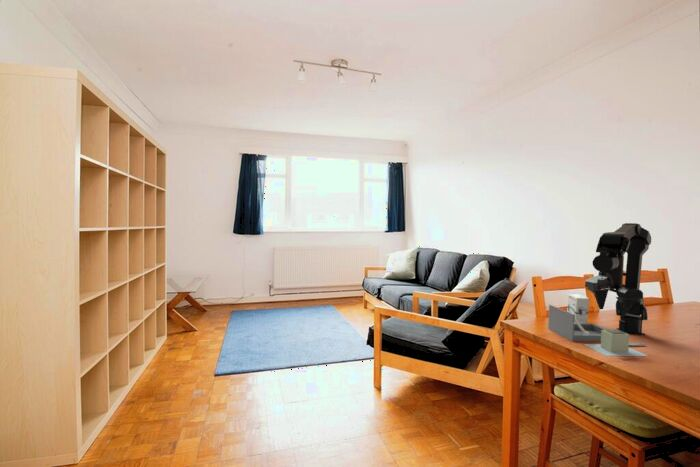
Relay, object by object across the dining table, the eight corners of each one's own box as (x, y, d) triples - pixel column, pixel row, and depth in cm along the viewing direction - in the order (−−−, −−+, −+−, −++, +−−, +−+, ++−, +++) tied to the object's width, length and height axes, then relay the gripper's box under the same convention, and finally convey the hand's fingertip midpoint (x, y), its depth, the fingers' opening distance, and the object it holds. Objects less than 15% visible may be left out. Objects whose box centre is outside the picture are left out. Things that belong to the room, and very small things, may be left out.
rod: (643, 346, 119) (643, 342, 119) (646, 347, 118) (646, 344, 117) (620, 344, 119) (621, 341, 118) (623, 345, 117) (623, 342, 117)
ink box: (566, 319, 150) (567, 293, 149) (578, 320, 149) (580, 294, 148) (575, 325, 141) (576, 297, 141) (588, 326, 140) (589, 298, 140)
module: (617, 347, 116) (618, 329, 116) (628, 352, 112) (629, 333, 111) (600, 347, 116) (601, 329, 116) (610, 352, 112) (611, 333, 111)
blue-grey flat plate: (622, 345, 119) (622, 344, 119) (648, 357, 109) (648, 355, 109) (583, 345, 119) (583, 344, 119) (605, 356, 109) (605, 355, 109)
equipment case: (592, 329, 136) (593, 305, 136) (621, 342, 122) (622, 315, 121) (548, 329, 136) (549, 304, 135) (572, 342, 121) (573, 314, 121)
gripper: (571, 265, 127) (570, 306, 128) (612, 274, 109) (610, 321, 110) (600, 264, 128) (599, 305, 129) (645, 273, 109) (643, 321, 110)
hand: (611, 312), depth 119 cm, fingers open, 9 cm apart
